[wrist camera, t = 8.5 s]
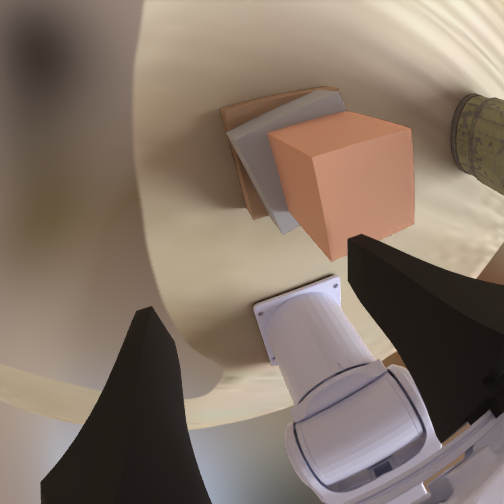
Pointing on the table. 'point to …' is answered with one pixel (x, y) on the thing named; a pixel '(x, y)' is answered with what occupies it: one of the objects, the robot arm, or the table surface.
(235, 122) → the tower base
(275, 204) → the tower middle
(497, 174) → the stone statue
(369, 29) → the table surface
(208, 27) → the table surface
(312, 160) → the terracotta block
